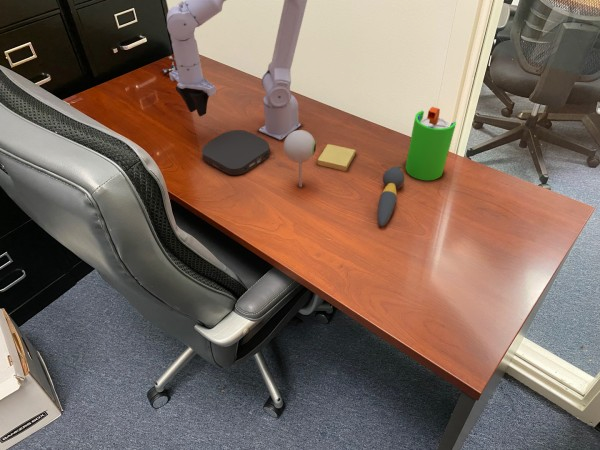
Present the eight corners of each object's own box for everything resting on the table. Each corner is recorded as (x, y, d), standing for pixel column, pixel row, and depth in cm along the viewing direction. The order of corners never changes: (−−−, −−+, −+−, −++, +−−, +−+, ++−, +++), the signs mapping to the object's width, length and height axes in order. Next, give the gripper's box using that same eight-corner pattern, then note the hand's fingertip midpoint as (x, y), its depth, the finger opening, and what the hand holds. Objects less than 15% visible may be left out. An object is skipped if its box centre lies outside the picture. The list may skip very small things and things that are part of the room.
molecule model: (179, 73, 154) (164, 52, 149) (194, 72, 145) (178, 50, 140) (167, 84, 152) (151, 64, 148) (180, 84, 143) (164, 62, 139)
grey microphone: (398, 232, 94) (401, 215, 91) (374, 229, 95) (377, 212, 92) (403, 176, 108) (406, 159, 105) (383, 173, 109) (385, 157, 106)
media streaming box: (237, 133, 123) (235, 124, 120) (276, 152, 116) (275, 143, 114) (197, 158, 115) (194, 148, 113) (236, 180, 108) (235, 170, 106)
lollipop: (312, 197, 103) (312, 143, 92) (282, 193, 104) (279, 140, 94) (317, 178, 108) (318, 125, 97) (289, 175, 109) (287, 122, 98)
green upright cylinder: (445, 166, 111) (462, 101, 98) (438, 184, 106) (455, 118, 93) (409, 157, 114) (422, 93, 101) (401, 175, 109) (413, 109, 96)
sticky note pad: (327, 148, 117) (327, 143, 116) (355, 154, 115) (355, 149, 114) (317, 164, 112) (317, 159, 111) (345, 171, 110) (346, 166, 109)
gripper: (155, 60, 106) (167, 110, 116) (196, 76, 100) (206, 128, 109) (177, 50, 110) (187, 99, 120) (218, 65, 104) (226, 116, 113)
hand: (198, 112), depth 115 cm, fingers open, 3 cm apart
